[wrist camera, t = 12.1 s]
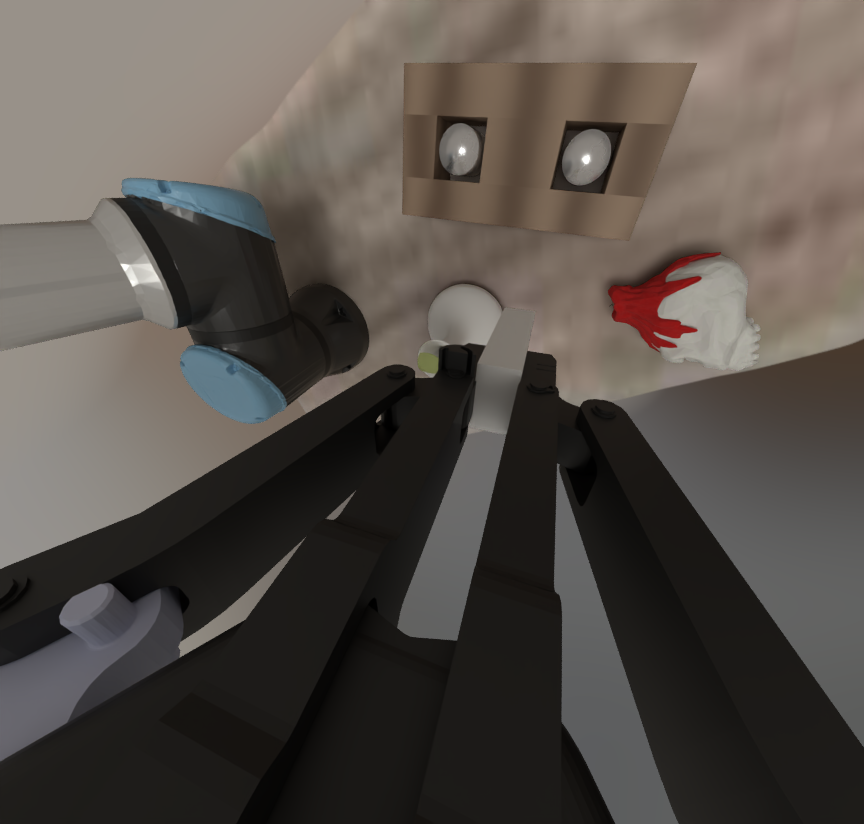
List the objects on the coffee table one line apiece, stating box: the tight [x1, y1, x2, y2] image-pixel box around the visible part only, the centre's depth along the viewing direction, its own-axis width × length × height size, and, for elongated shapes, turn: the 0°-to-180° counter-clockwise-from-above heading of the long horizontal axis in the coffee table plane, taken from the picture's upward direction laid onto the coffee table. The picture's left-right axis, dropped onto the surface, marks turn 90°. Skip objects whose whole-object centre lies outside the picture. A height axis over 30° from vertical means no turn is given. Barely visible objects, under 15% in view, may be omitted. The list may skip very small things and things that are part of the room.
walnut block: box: [402, 63, 697, 241], centre depth 33 cm, size 24×12×6 cm, turn 86°
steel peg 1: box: [439, 123, 485, 177], centre depth 34 cm, size 4×4×6 cm
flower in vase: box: [418, 284, 503, 378], centre depth 38 cm, size 13×11×25 cm
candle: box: [608, 252, 761, 371], centre depth 35 cm, size 9×11×15 cm
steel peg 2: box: [562, 129, 611, 186], centre depth 31 cm, size 4×4×6 cm
